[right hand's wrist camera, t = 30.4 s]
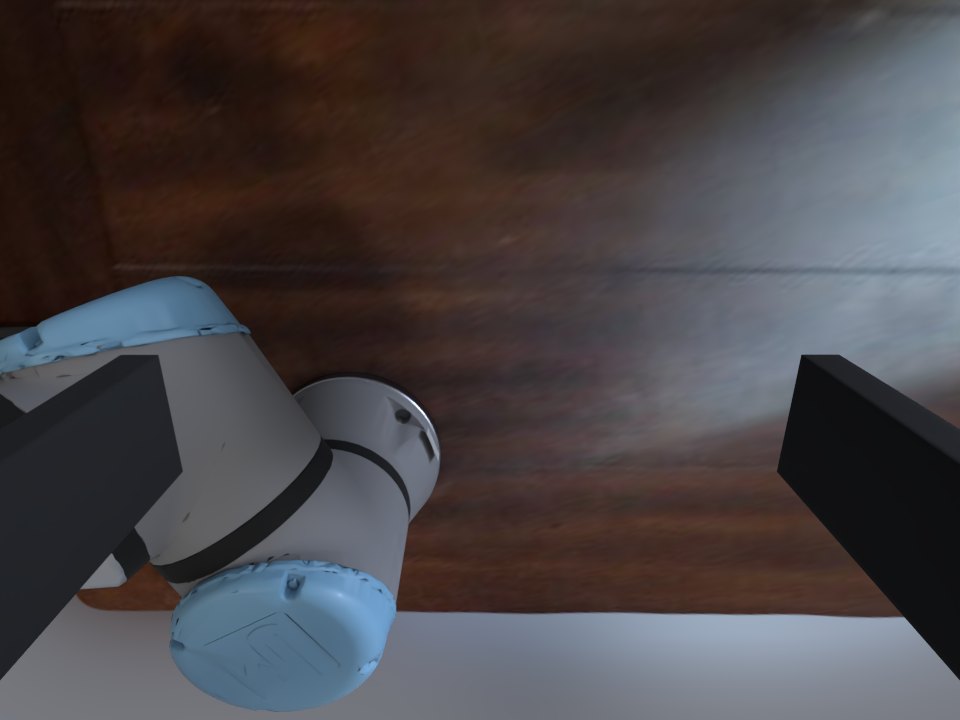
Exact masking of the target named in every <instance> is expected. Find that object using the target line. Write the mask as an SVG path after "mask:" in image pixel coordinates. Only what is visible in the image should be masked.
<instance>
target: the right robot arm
mask: <svg viewBox="0 0 960 720" xmlns="http://www.w3.org/2000/svg"><path fill="white" fill-rule="evenodd" d="M250 334H251V332H250V330H249V329H248V328H247V327H246V326H244V325H240V323H239V322H238V321H237V320H236V318H235V317H234V316H233V315H232V313H231V312H230V311H229V310H228V308H227V307H226V306H225V305H224V303H223V302H222V301H221V300H220V298H219V297H218V296H217V295H216V293H215V292H214V291H213V290H212V289H211V288H210V287H209V286H208V285H207V284H205V283H204V282H202V281H200V280H197V279H195V278H190V277H185V276H175V277H167V278H162V279H157V280H153V281H150V282H146V283H143V284H140V285H137V286H133V287H130V288H127V289H124V290H121V291H118V292H115V293H113V294H110V295H107V296H104V297H102V298H99V299H96V300H93V301H91V302H88V303H86V304H83V305H80V306H78V307H75V308H73V309H70V310H68V311H65V312H63V313H60V314H58V315H56V316H53V317H51V318H49V319H47V320H44V321H42V322H41V323H40V324H39V325H37V326H36V327H2V328H0V338H4V339H2V340H0V680H1V679H2V678H3V676H4V675H5V674H6V673H7V672H8V671H9V669H10V668H11V667H12V666H13V665H14V664H15V663H16V662H17V660H18V659H19V658H20V657H21V656H22V655H23V654H24V652H25V651H26V650H27V649H28V648H29V647H30V646H31V644H32V643H33V642H34V641H35V640H36V639H37V638H38V636H39V635H40V634H41V633H42V632H43V631H44V630H45V628H46V627H47V626H48V625H49V624H50V623H51V622H52V620H53V619H54V618H55V617H56V616H57V615H58V614H59V612H60V611H61V610H62V609H63V608H64V607H65V606H66V604H67V603H68V602H69V601H70V600H71V599H72V598H73V596H74V595H75V594H76V593H77V592H78V591H79V590H80V589H89V588H102V587H116V586H120V585H121V584H123V583H124V582H126V581H127V580H128V579H129V578H130V577H132V576H133V575H134V574H135V573H136V572H137V571H138V570H140V569H141V568H142V567H143V566H144V565H145V564H146V563H148V562H150V563H151V564H152V565H153V566H154V567H155V568H156V569H157V571H158V572H159V573H160V574H161V575H162V576H163V577H164V578H165V579H166V580H167V581H168V583H169V584H170V585H171V586H172V587H173V588H174V589H175V590H176V591H177V592H178V593H179V595H180V596H181V597H182V599H181V600H180V602H179V603H178V604H177V606H176V608H175V610H174V612H173V614H172V619H171V627H170V635H171V638H172V639H171V641H170V646H169V648H170V651H171V655H172V658H173V660H174V662H175V664H176V665H177V667H178V668H179V670H180V671H181V673H182V674H183V675H184V676H185V677H186V678H187V679H188V680H189V681H190V682H191V683H192V684H193V685H194V686H196V687H197V688H199V689H200V690H202V691H203V692H205V693H206V694H208V695H210V696H212V697H214V698H216V699H218V700H220V701H223V702H225V703H228V704H231V705H234V706H238V707H242V708H247V709H251V710H268V711H274V712H291V711H300V710H306V709H311V708H315V707H319V706H322V705H325V704H328V703H331V702H333V701H336V700H338V699H340V698H342V697H344V696H346V695H347V694H349V693H350V692H352V691H353V690H355V689H356V688H357V687H359V686H360V685H361V684H362V683H363V682H364V681H365V680H366V679H367V678H368V677H369V676H370V675H371V673H372V672H373V671H374V669H375V668H376V666H377V664H378V662H379V661H380V659H381V656H382V653H383V651H384V647H385V643H386V639H387V635H388V631H389V629H390V628H391V625H392V623H393V621H394V619H395V615H396V599H397V593H398V587H399V580H400V574H401V568H402V562H403V555H404V549H405V543H406V537H407V531H408V524H409V523H410V521H411V520H412V519H413V518H414V516H415V515H416V514H417V513H418V511H419V510H420V509H421V508H422V507H423V505H424V504H425V503H426V501H427V500H428V498H429V497H430V495H431V493H432V491H433V488H434V486H435V483H436V481H437V478H438V474H439V468H440V461H441V444H440V438H439V434H438V431H437V428H436V426H435V423H434V421H433V419H432V418H431V416H430V414H429V413H428V411H427V410H426V409H425V407H424V406H423V405H422V404H421V403H420V402H419V401H418V400H417V399H416V398H415V397H414V396H413V395H412V394H411V393H409V392H408V391H407V390H405V389H404V388H402V387H401V386H399V385H397V384H395V383H393V382H391V381H389V380H386V379H384V378H381V377H377V376H374V375H369V374H363V373H337V374H331V375H327V376H323V377H320V378H317V379H315V380H313V381H311V382H309V383H307V384H305V385H303V386H302V387H300V388H299V389H298V390H296V391H295V392H294V393H293V394H291V393H290V391H289V390H288V388H287V387H286V386H285V384H284V383H283V381H282V380H281V379H280V377H279V376H278V374H277V373H276V372H275V370H274V369H273V367H272V366H271V365H270V363H269V362H268V360H267V359H266V358H265V356H264V355H263V353H262V352H261V351H260V349H259V348H258V346H257V345H256V344H255V342H254V341H253V339H252V338H251V337H250ZM777 472H778V473H779V474H780V476H781V477H782V478H783V479H784V480H785V481H786V482H787V484H788V485H789V486H790V487H791V488H792V489H793V490H794V492H795V493H796V494H797V495H798V496H799V497H800V498H801V500H802V501H803V502H804V503H805V504H806V505H807V506H808V508H809V509H810V510H811V511H812V512H813V513H814V514H815V515H816V517H817V518H818V519H819V520H820V521H821V522H822V523H823V525H824V526H825V527H826V528H827V529H828V530H829V531H830V533H831V534H832V535H833V536H834V537H835V538H836V539H837V541H838V542H839V543H840V544H841V545H842V546H843V547H844V549H845V550H846V551H847V552H848V553H849V554H850V555H851V557H852V558H853V559H854V560H855V561H856V562H857V563H858V565H859V566H860V567H861V568H862V569H863V570H864V571H865V573H866V574H867V575H868V576H869V577H870V578H871V579H872V581H873V582H874V583H875V584H876V585H877V586H878V587H879V589H880V590H881V591H882V592H883V593H884V594H885V595H886V597H887V598H888V599H889V600H890V601H891V602H892V603H893V604H894V606H895V607H896V608H897V609H898V610H899V611H900V612H901V614H902V615H903V616H904V617H905V618H906V619H907V620H908V622H909V623H910V624H911V625H912V626H913V627H914V628H915V630H916V631H917V632H918V633H919V634H920V635H921V636H922V638H923V639H924V640H925V641H926V642H927V643H928V644H929V645H930V647H931V648H932V649H933V650H934V651H935V652H936V654H937V655H938V656H939V657H940V658H941V659H942V660H943V662H944V663H945V664H946V665H947V666H948V667H949V668H950V670H951V671H952V672H953V673H954V674H955V675H956V676H957V678H958V679H959V680H960V429H958V428H957V427H955V426H953V425H952V424H950V423H949V422H947V421H945V420H944V419H942V418H941V417H939V416H937V415H936V414H934V413H932V412H931V411H929V410H928V409H926V408H924V407H923V406H921V405H920V404H918V403H916V402H915V401H913V400H911V399H910V398H908V397H907V396H905V395H903V394H902V393H900V392H898V391H897V390H895V389H894V388H892V387H890V386H889V385H887V384H886V383H884V382H882V381H881V380H879V379H877V378H876V377H874V376H873V375H871V374H869V373H868V372H866V371H865V370H863V369H861V368H860V367H858V366H856V365H855V364H853V363H852V362H850V361H848V360H847V359H845V358H844V357H842V356H840V355H801V360H800V365H799V369H798V374H797V379H796V384H795V388H794V393H793V398H792V403H791V407H790V412H789V417H788V422H787V426H786V431H785V436H784V441H783V445H782V450H781V455H780V460H779V464H778V469H777Z"/></svg>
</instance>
